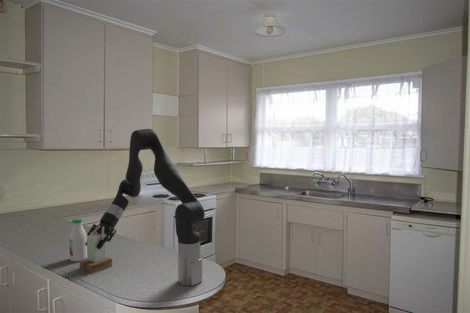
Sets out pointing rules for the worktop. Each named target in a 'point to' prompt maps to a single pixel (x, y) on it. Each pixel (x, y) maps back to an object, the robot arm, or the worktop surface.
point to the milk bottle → (77, 241)
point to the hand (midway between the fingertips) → (92, 246)
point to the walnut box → (95, 265)
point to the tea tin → (95, 248)
